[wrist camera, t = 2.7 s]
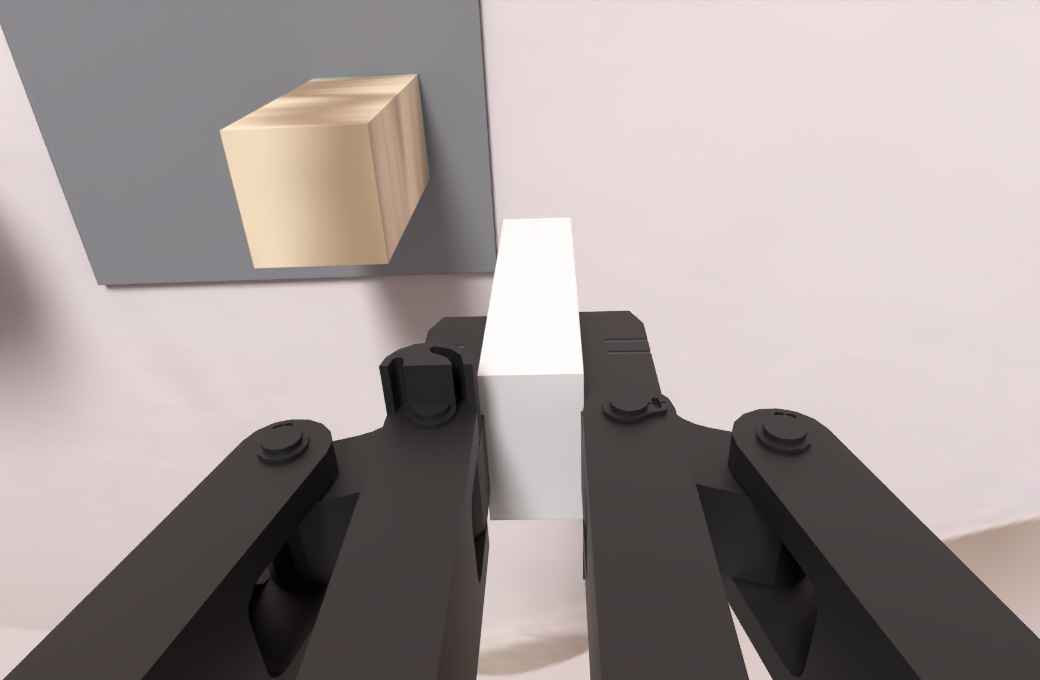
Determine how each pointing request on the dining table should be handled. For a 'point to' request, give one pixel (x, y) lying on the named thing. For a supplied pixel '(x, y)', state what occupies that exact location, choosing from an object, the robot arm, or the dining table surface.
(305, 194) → the beech block
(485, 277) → the dining table surface
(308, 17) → the mat
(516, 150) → the dining table surface
